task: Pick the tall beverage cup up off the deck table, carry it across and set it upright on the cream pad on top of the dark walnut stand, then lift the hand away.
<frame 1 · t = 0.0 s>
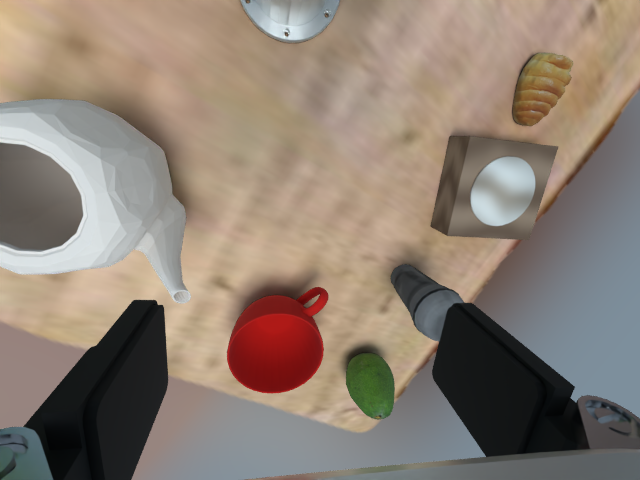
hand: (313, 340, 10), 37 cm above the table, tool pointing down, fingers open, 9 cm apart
walnut stand: (479, 186, 50), on the table
beverage cup: (402, 276, 53), on the table
pastry: (533, 88, 47), on the table
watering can: (134, 179, 42), on the table
fruit: (361, 360, 57), on the table
ceramic cup: (282, 306, 51), on the table
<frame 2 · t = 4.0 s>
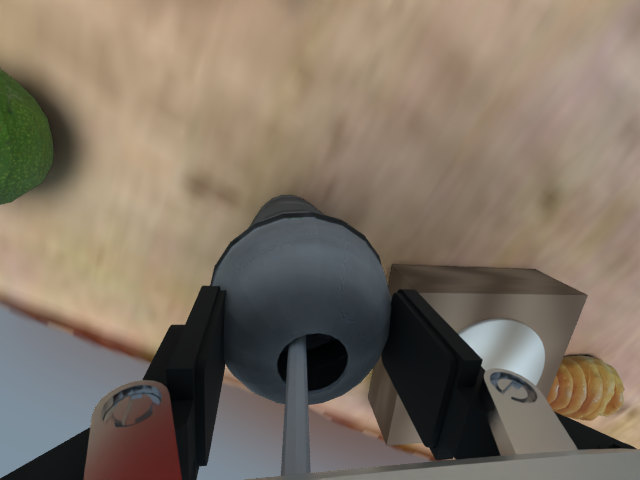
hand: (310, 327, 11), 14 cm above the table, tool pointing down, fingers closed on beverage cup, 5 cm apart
walnut stand: (449, 335, 29), on the table
beverage cup: (287, 223, 24), on the table, touching gripper
pastry: (559, 376, 34), on the table
fruit: (16, 130, 19), on the table
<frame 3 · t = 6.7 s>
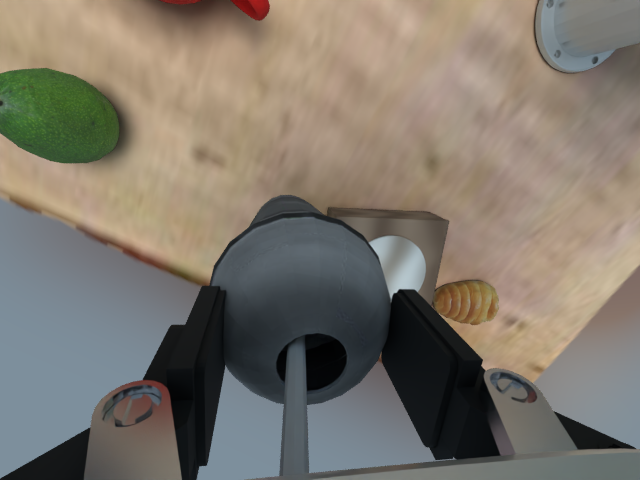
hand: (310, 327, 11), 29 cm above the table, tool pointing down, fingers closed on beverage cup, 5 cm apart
walnut stand: (373, 259, 43), on the table
beverage cup: (286, 223, 24), point 15 cm above the table, touching gripper
pastry: (460, 298, 48), on the table
fruit: (93, 121, 33), on the table
when the fingers open (20 cm above the table, at t = 9.8 s): beverage cup drops 1 cm, resting on walnut stand.
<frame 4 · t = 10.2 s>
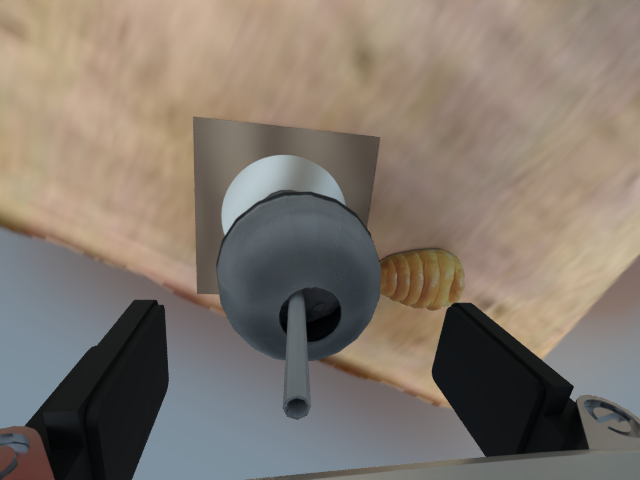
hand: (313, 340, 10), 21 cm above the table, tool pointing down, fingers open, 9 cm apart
walnut stand: (282, 205, 30), on the table
beverage cup: (285, 217, 25), point 5 cm above the table, touching walnut stand
pastry: (415, 274, 36), on the table
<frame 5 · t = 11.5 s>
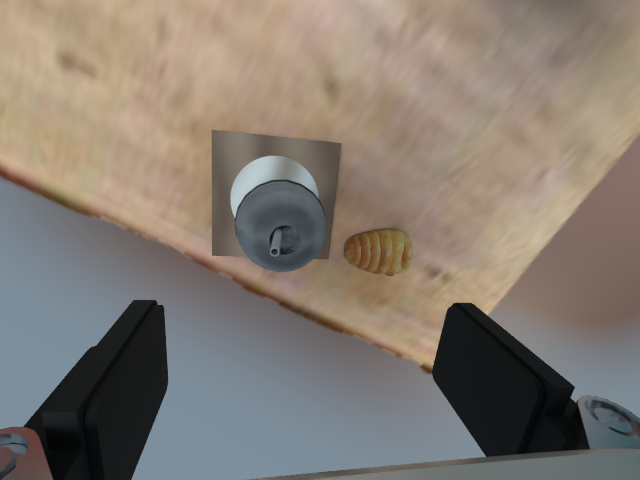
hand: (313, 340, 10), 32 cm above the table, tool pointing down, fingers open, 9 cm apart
walnut stand: (274, 193, 41), on the table
beverage cup: (275, 199, 36), point 5 cm above the table, touching walnut stand
pastry: (377, 249, 46), on the table
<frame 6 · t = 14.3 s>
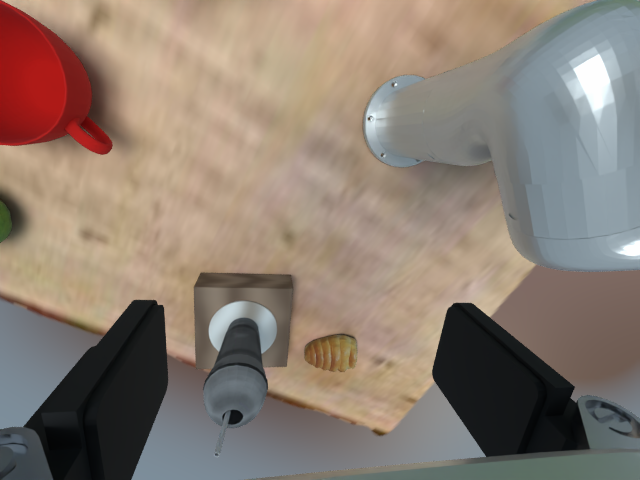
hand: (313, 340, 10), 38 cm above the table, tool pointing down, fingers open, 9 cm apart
walnut stand: (245, 312, 52), on the table
beverage cup: (243, 329, 47), point 5 cm above the table, touching walnut stand
pastry: (332, 348, 58), on the table
ceramic cup: (72, 101, 39), on the table
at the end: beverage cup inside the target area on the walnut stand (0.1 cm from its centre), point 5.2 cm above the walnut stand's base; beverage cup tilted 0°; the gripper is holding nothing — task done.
